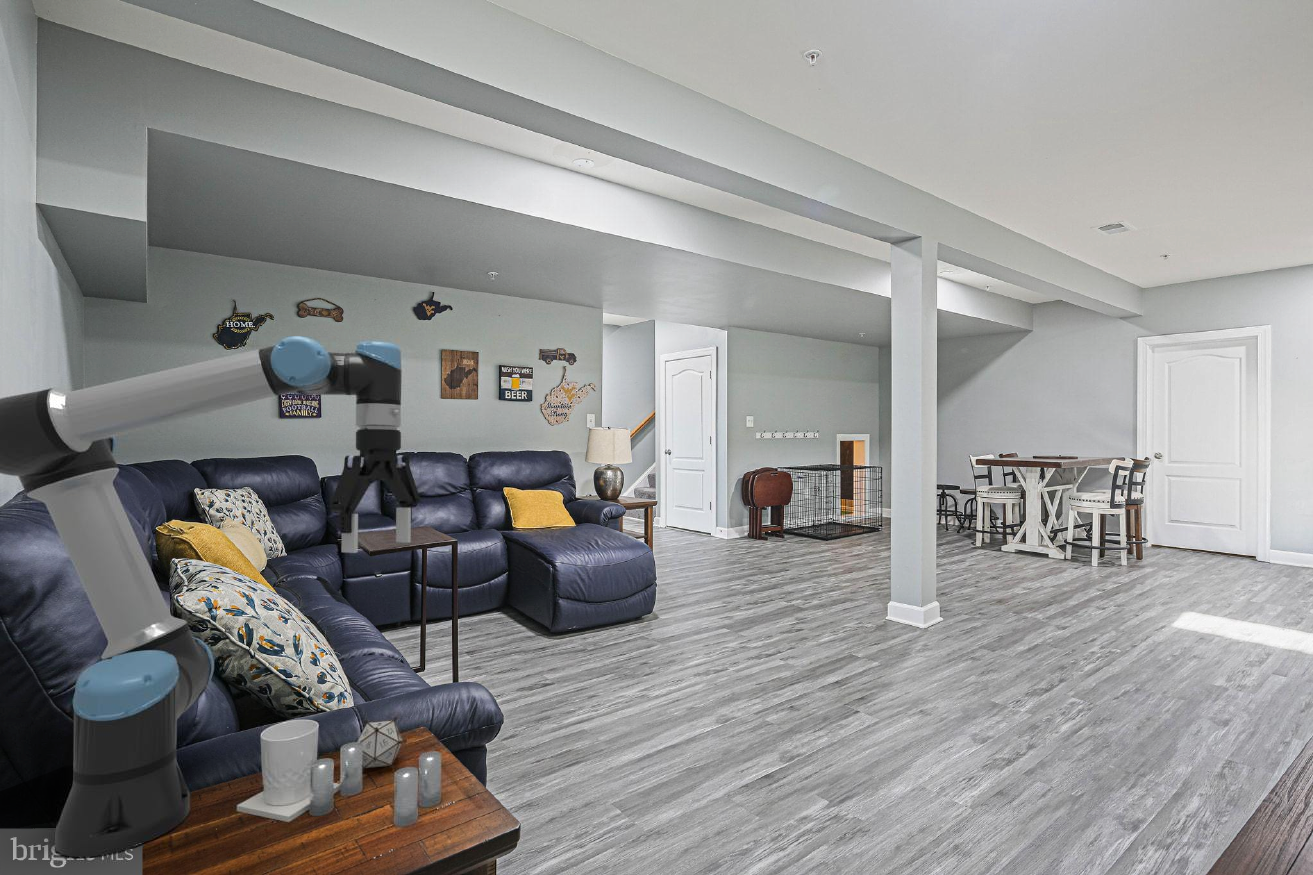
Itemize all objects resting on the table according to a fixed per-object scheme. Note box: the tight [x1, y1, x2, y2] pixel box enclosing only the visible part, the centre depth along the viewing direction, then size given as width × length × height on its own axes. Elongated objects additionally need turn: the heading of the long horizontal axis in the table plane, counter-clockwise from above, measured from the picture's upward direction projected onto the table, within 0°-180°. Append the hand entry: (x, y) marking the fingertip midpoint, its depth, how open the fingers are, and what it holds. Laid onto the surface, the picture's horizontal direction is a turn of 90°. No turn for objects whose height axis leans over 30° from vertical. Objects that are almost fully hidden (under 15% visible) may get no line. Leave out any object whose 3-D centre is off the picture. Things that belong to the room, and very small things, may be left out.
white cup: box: [260, 719, 320, 806], centre depth 103 cm, size 8×8×10 cm
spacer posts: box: [308, 741, 442, 828], centre depth 101 cm, size 17×10×7 cm, turn 72°
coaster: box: [236, 782, 340, 823], centre depth 103 cm, size 10×10×1 cm
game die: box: [356, 715, 408, 773], centre depth 114 cm, size 9×8×10 cm
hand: (377, 547), depth 120 cm, fingers open, 13 cm apart
